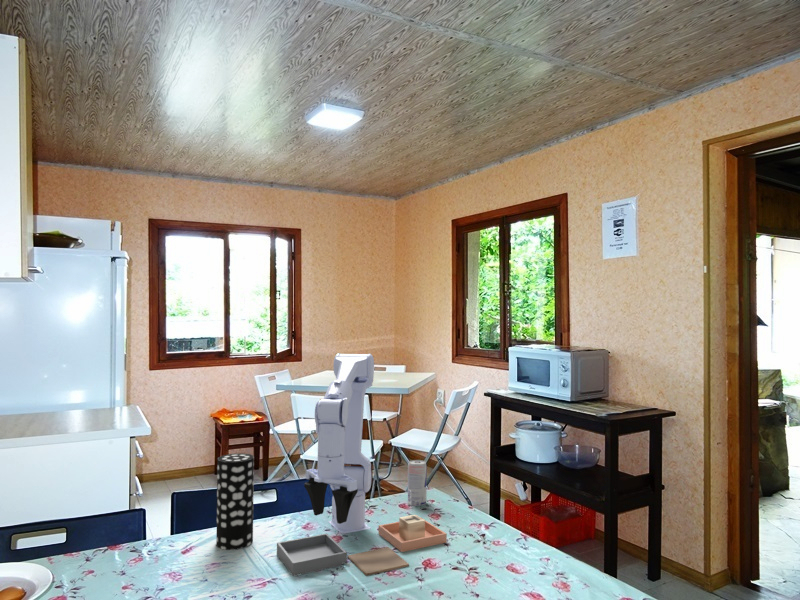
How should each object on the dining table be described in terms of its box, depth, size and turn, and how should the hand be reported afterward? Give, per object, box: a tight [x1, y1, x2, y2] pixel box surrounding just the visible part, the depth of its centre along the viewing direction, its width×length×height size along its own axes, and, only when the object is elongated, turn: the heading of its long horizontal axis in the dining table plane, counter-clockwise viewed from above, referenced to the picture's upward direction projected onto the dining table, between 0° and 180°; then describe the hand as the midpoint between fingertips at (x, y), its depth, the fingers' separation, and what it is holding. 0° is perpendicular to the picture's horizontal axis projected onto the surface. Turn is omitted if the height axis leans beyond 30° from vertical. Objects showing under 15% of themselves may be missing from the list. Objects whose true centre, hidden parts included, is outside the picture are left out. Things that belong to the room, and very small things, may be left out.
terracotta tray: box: [378, 517, 447, 553], centre depth 136 cm, size 12×12×3 cm
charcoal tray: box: [276, 533, 348, 577], centre depth 126 cm, size 12×12×3 cm
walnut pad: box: [347, 546, 410, 577], centre depth 123 cm, size 10×10×1 cm
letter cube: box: [398, 514, 426, 541], centre depth 136 cm, size 4×4×5 cm
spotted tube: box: [215, 452, 255, 551], centre depth 135 cm, size 8×8×20 cm
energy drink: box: [407, 459, 428, 507], centre depth 163 cm, size 5×5×12 cm
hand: (330, 518), depth 123 cm, fingers open, 7 cm apart
